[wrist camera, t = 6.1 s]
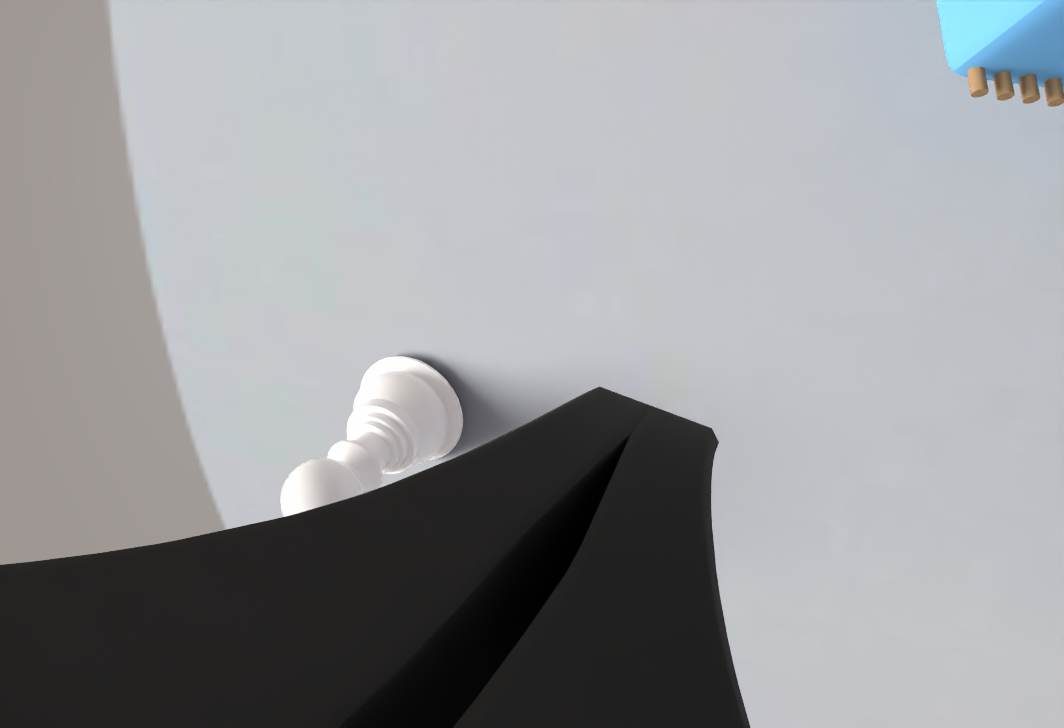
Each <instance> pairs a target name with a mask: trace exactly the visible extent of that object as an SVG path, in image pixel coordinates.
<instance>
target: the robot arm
mask: <svg viewBox="0 0 1064 728" xmlns="http://www.w3.org/2000/svg"><path fill="white" fill-rule="evenodd" d="M718 443H719V442H718V440H717V438H716V436H715V434H714V432H713V430H712V428H709V427H706V426H704V425H701V424H698V423H696V422H693V421H690V420H688V419H685V418H682V417H680V416H677V415H674V414H671V413H669V412H666V411H663V410H661V409H658V408H655V407H653V406H650V405H647V404H645V403H642V402H639V401H637V400H634V399H631V398H628V397H626V396H623V395H620V394H618V393H615V392H612V391H610V390H607V389H604V388H602V387H598V388H596V389H593V390H591V391H589V392H587V393H585V394H583V395H581V396H579V397H577V398H575V399H573V400H571V401H569V402H567V403H565V404H563V405H561V406H560V407H558V408H556V409H554V410H552V411H550V412H548V413H546V414H544V415H542V416H541V417H539V418H537V419H535V420H533V421H531V422H529V423H527V424H525V425H523V426H521V427H519V428H517V429H515V430H513V431H511V432H509V433H507V434H505V435H503V436H500V437H498V438H496V439H494V440H492V441H490V442H488V443H486V444H484V445H482V446H479V447H477V448H475V449H473V450H471V451H469V452H467V453H465V454H462V455H460V456H458V457H456V458H453V459H451V460H449V461H446V462H444V463H441V464H439V465H436V466H434V467H431V468H429V469H426V470H424V471H422V472H419V473H417V474H414V475H412V476H409V477H407V478H404V479H402V480H399V481H397V482H394V483H392V484H389V485H387V486H384V487H381V488H378V489H375V490H372V491H369V492H366V493H363V494H360V495H357V496H354V497H351V498H348V499H345V500H341V501H338V502H335V503H331V504H328V505H324V506H321V507H317V508H314V509H311V510H307V511H304V512H300V513H297V514H293V515H289V516H285V517H282V518H278V519H274V520H269V521H264V522H260V523H255V524H250V525H246V526H241V527H237V528H232V529H227V530H223V531H218V532H214V533H209V534H204V535H200V536H195V537H191V538H186V539H181V540H177V541H172V542H166V543H161V544H155V545H148V546H143V547H136V548H129V549H123V550H117V551H110V552H104V553H97V554H89V555H82V556H74V557H66V558H58V559H50V560H43V561H34V562H25V563H16V564H6V565H0V728H750V725H749V721H748V718H747V714H746V711H745V707H744V703H743V700H742V696H741V693H740V689H739V685H738V681H737V677H736V673H735V669H734V665H733V661H732V656H731V652H730V647H729V642H728V638H727V633H726V627H725V622H724V616H723V611H722V605H721V600H720V594H719V587H718V580H717V573H716V564H715V553H714V543H713V532H712V518H711V478H712V466H713V459H714V455H715V451H716V448H717V446H718Z"/></svg>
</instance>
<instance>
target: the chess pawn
mask: <svg viewBox="0 0 1064 728" xmlns="http://www.w3.org/2000/svg"><path fill="white" fill-rule="evenodd" d="M462 430H463V414H462V409H461V405H460V402H459V399H458V397H457V395H456V393H455V391H454V390H453V388H452V387H451V385H450V384H449V383H448V381H447V380H446V379H445V378H444V377H443V376H442V375H441V374H440V373H439V372H438V371H436V370H435V369H434V368H432V367H431V366H430V365H428V364H426V363H424V362H422V361H420V360H417V359H414V358H411V357H405V356H392V357H387V358H384V359H382V360H380V361H378V362H377V363H375V364H374V365H372V366H371V367H370V368H369V370H368V371H367V372H366V373H365V375H364V377H363V379H362V383H361V387H360V390H359V392H358V394H357V396H356V398H355V400H354V405H353V413H352V414H351V416H350V418H349V420H348V424H347V436H348V440H342V441H339V442H337V443H336V444H335V445H334V446H333V447H332V448H331V449H330V451H329V453H328V457H327V458H316V459H312V460H309V461H306V462H304V463H303V464H301V465H300V466H298V467H296V468H295V469H294V470H293V471H292V473H291V474H290V475H289V476H288V477H287V479H286V481H285V483H284V485H283V487H282V492H281V497H280V500H281V510H282V513H283V516H284V517H285V516H289V515H293V514H297V513H300V512H304V511H307V510H311V509H314V508H317V507H321V506H324V505H328V504H331V503H335V502H338V501H341V500H345V499H348V498H351V497H354V496H357V495H360V494H363V493H366V492H369V491H372V490H375V489H378V488H379V487H380V486H381V484H382V481H383V474H385V473H386V474H396V473H400V472H402V471H404V470H405V469H407V468H408V467H409V466H414V465H418V464H421V463H423V462H425V461H428V460H434V459H438V458H441V457H443V456H444V455H446V454H448V453H449V452H450V451H451V450H452V449H453V448H454V447H455V446H456V444H457V442H458V441H459V439H460V436H461V433H462Z"/></svg>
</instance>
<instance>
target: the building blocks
mask: <svg viewBox="0 0 1064 728" xmlns="http://www.w3.org/2000/svg"><path fill="white" fill-rule="evenodd" d="M936 2H937V8H938V14H939V20H940V26H941V32H942V38H943V44H944V49H945V54H946V58H947V62H948V64H949V67H950V69H951V70H953V71H954V72H955V73H956V74H959V75H961V76H965V77H968V79H969V85H970V91H971V96H972V97H981V96H984V95H985V94H987V93H988V86H987V80H992V81H994V83H995V89H996V94H997V99H998V100H1007V99H1010V98H1012V97H1013V96H1014V89H1013V83H1015V84H1020V90H1021V95H1022V100H1023V103H1033V102H1035V101H1037V100H1039V99H1040V94H1039V89H1038V86H1039V87H1044V88H1045V93H1046V98H1047V103H1048V106H1058V105H1060V104H1062V103H1064V92H1063V90H1064V0H936Z"/></svg>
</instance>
